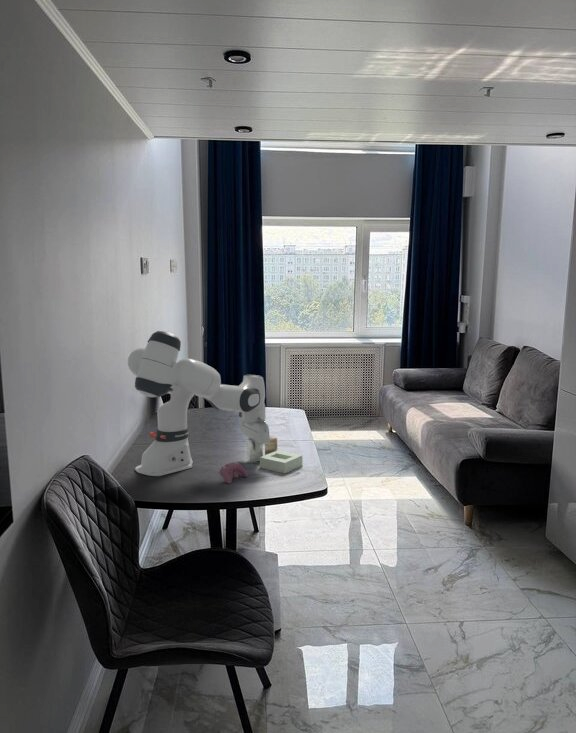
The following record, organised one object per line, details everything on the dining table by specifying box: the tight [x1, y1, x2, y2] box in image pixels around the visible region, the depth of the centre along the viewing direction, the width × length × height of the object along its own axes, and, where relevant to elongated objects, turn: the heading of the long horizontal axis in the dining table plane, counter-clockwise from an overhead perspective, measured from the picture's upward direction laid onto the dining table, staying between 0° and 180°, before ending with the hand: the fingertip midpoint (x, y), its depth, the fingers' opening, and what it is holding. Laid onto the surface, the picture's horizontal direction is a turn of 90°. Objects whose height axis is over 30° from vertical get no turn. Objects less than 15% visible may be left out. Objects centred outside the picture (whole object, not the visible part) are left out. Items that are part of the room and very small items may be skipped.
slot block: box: [259, 449, 303, 474], centre depth 225 cm, size 11×12×4 cm
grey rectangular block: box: [246, 438, 264, 464], centre depth 231 cm, size 2×6×9 cm, turn 118°
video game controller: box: [219, 462, 249, 485], centre depth 211 cm, size 10×5×7 cm, turn 141°
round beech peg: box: [264, 436, 278, 455], centre depth 236 cm, size 5×5×8 cm
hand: (254, 449), depth 231 cm, fingers closed on grey rectangular block, 2 cm apart
